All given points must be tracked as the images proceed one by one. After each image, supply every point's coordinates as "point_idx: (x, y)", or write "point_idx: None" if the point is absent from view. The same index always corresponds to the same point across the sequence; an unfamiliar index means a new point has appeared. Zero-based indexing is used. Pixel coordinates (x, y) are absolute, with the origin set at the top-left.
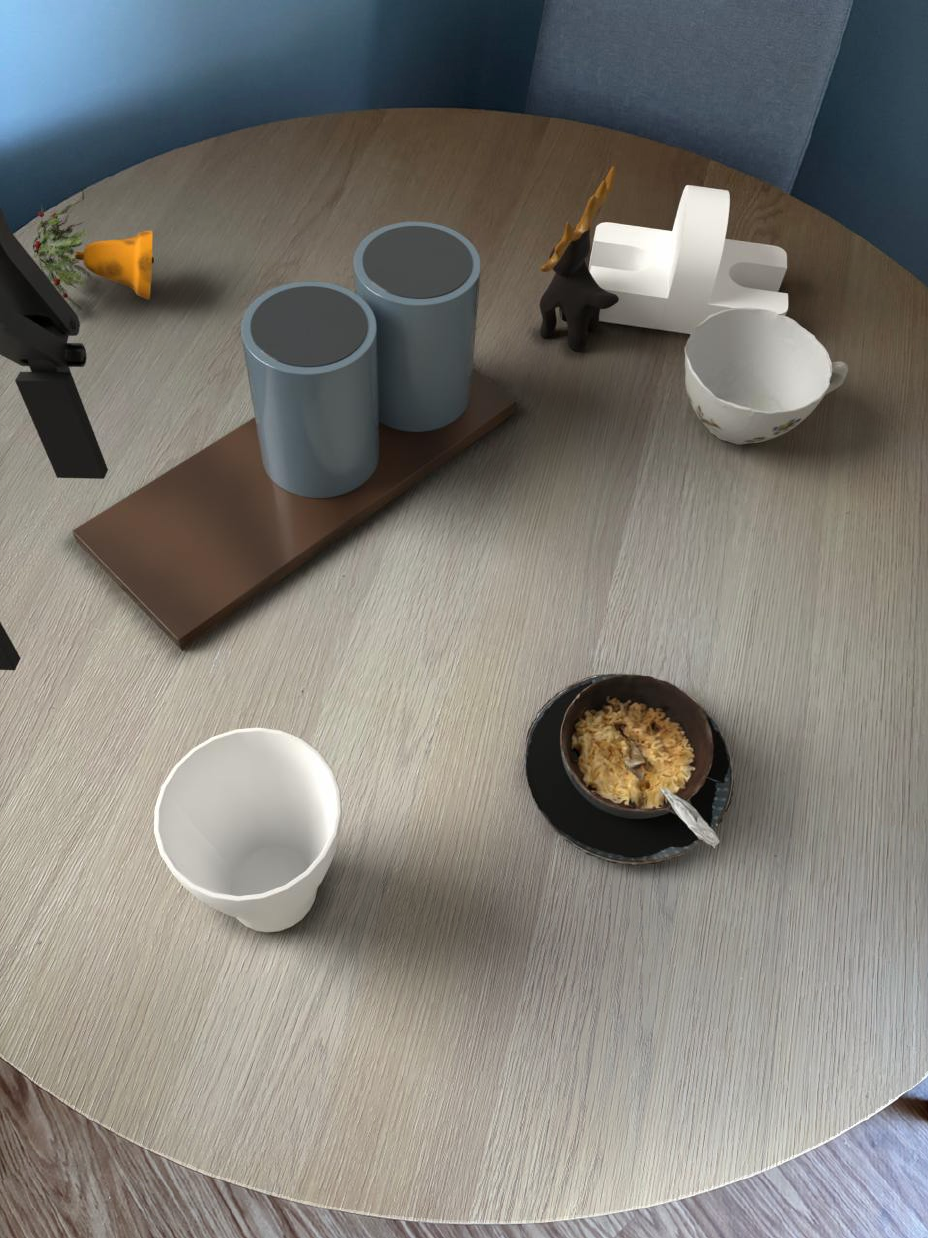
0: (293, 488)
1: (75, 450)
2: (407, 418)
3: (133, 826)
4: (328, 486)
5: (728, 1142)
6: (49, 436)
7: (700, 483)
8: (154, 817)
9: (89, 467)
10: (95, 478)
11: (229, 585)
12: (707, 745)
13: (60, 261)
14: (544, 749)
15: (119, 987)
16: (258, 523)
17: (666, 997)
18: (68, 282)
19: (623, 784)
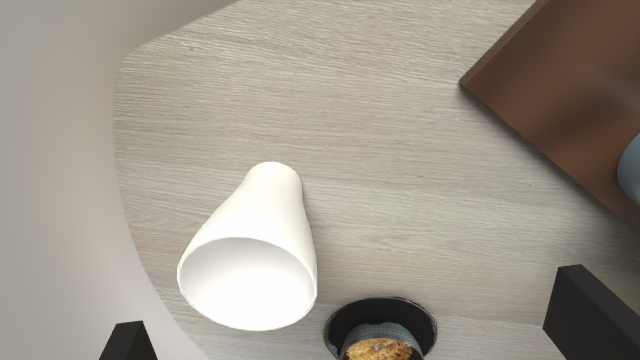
0: (633, 148)
1: (591, 356)
2: None
3: (294, 88)
4: (626, 181)
5: (217, 356)
6: (629, 357)
7: None
8: (220, 234)
9: (561, 335)
10: (545, 318)
11: (523, 114)
12: None
13: None
14: (385, 304)
15: (184, 113)
16: (596, 122)
17: (267, 341)
18: None
19: (360, 348)
